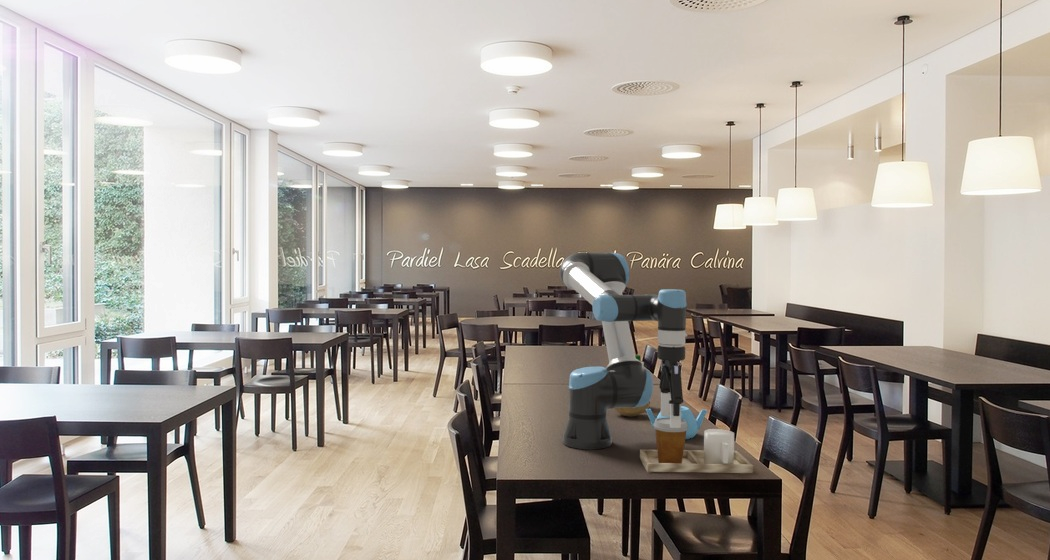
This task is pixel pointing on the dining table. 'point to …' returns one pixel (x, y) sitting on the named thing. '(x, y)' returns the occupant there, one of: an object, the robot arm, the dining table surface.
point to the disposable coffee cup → (670, 440)
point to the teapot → (685, 415)
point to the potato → (632, 410)
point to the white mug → (718, 446)
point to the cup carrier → (694, 463)
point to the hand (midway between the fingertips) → (670, 421)
